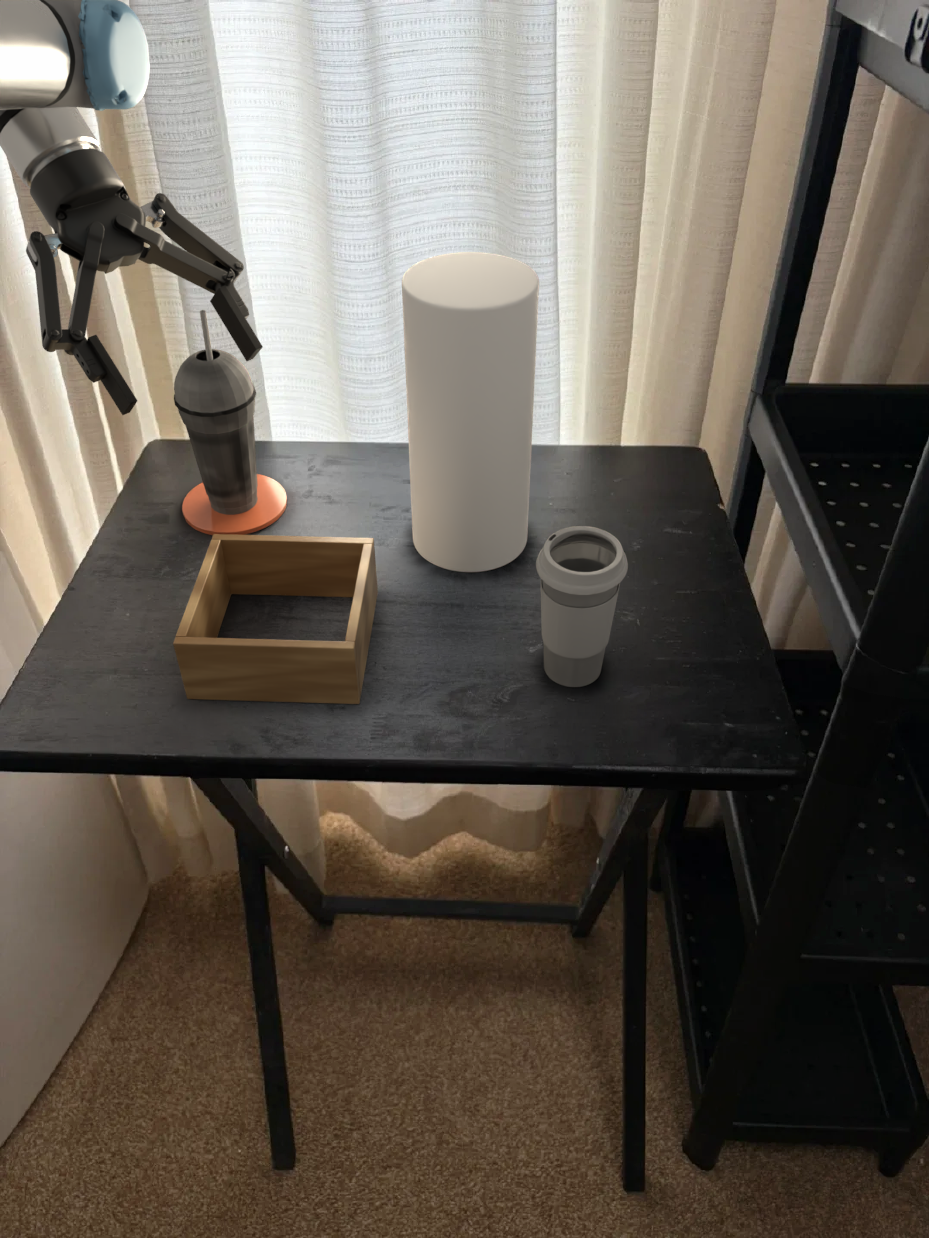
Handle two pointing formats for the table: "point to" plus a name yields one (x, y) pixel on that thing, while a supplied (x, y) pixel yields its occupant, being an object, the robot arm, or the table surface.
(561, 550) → the cup
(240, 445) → the beverage cup
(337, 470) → the table surface
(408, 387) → the tall pillar cylinder
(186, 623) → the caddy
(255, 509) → the coaster
